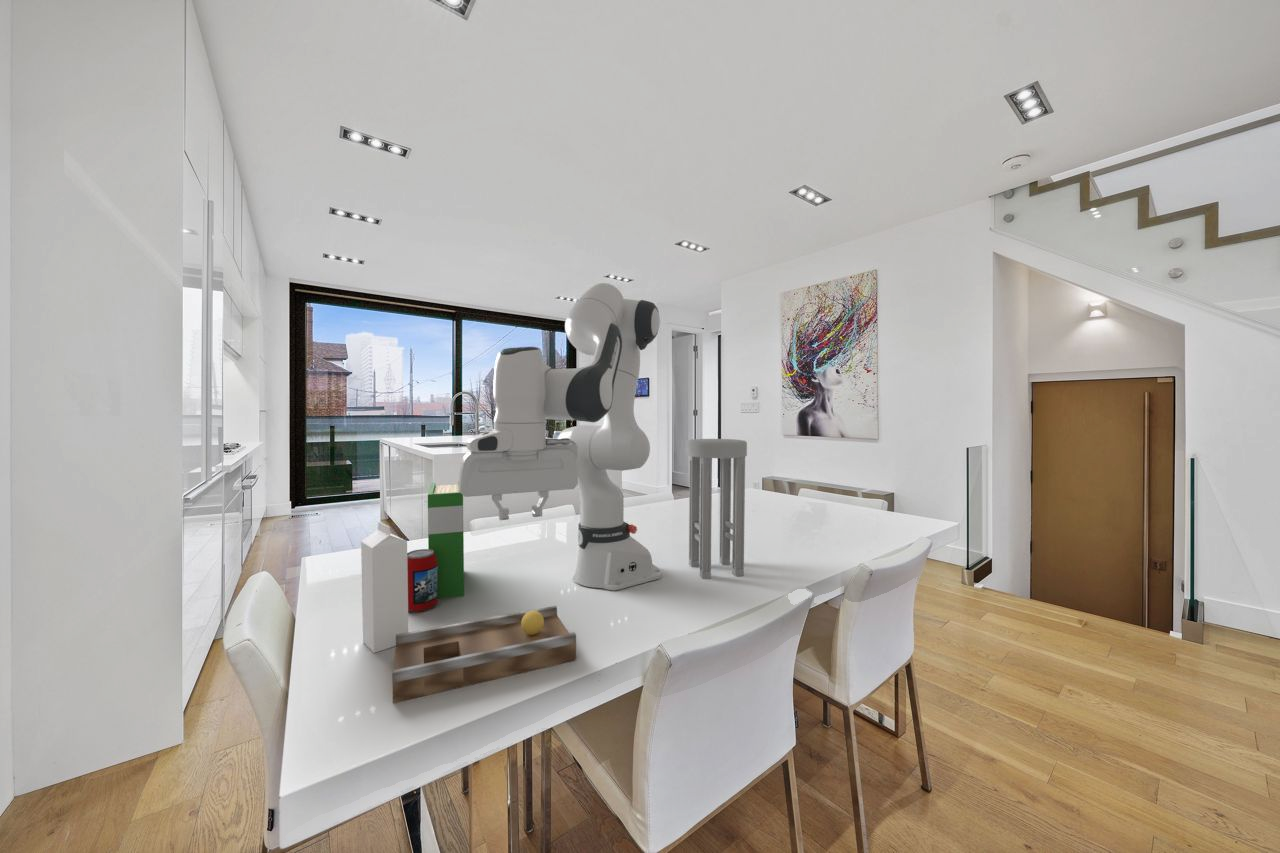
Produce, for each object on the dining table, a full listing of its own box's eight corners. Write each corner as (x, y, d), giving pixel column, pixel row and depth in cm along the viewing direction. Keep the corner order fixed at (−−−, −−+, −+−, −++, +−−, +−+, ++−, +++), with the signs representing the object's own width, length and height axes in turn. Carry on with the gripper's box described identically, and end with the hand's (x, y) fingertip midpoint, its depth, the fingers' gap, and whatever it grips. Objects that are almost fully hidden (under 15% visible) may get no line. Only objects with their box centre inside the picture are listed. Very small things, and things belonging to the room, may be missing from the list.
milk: (396, 631, 91) (395, 518, 91) (409, 642, 87) (408, 523, 87) (361, 642, 87) (360, 524, 86) (372, 654, 83) (371, 529, 82)
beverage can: (424, 615, 98) (423, 558, 98) (396, 612, 100) (395, 556, 99) (444, 602, 105) (443, 549, 105) (417, 599, 106) (416, 547, 106)
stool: (697, 582, 118) (698, 442, 116) (679, 562, 133) (680, 438, 132) (754, 578, 121) (756, 442, 120) (731, 559, 136) (732, 438, 135)
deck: (555, 628, 93) (555, 605, 93) (576, 660, 81) (576, 634, 81) (396, 660, 81) (395, 634, 81) (392, 703, 69) (392, 673, 69)
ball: (541, 626, 87) (541, 605, 87) (546, 636, 83) (546, 614, 83) (519, 631, 85) (519, 609, 85) (523, 641, 82) (523, 618, 81)
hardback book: (432, 574, 123) (431, 482, 122) (462, 571, 125) (462, 481, 124) (429, 600, 106) (427, 494, 105) (464, 595, 109) (463, 492, 108)
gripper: (572, 436, 89) (572, 509, 90) (457, 439, 81) (458, 519, 81) (582, 438, 84) (582, 515, 84) (460, 441, 75) (461, 527, 75)
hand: (520, 517), depth 83 cm, fingers open, 4 cm apart
